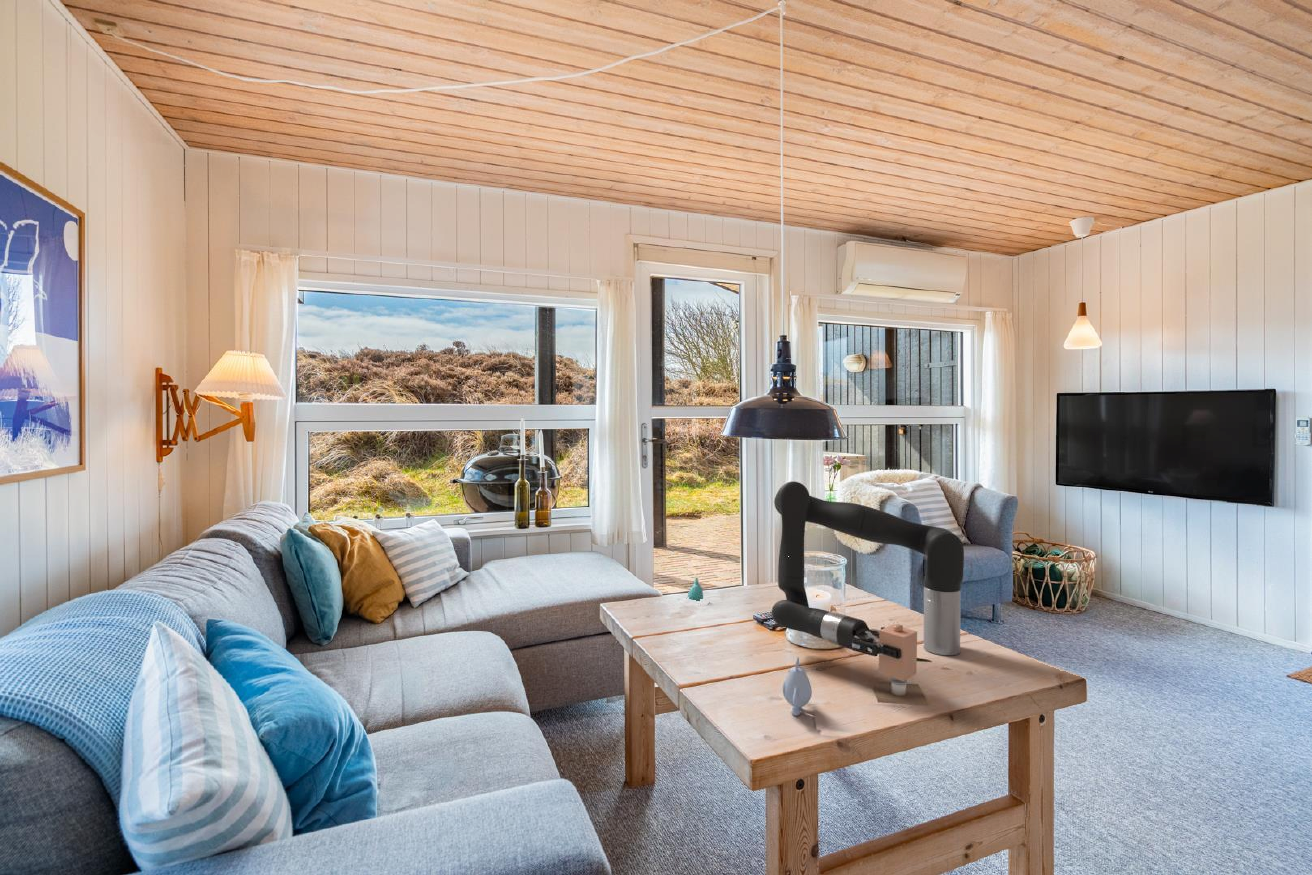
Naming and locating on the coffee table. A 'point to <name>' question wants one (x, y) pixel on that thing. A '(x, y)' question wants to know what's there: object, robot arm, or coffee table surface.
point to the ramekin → (898, 687)
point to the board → (886, 696)
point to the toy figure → (797, 688)
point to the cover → (908, 646)
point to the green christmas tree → (696, 591)
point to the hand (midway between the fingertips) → (907, 650)
